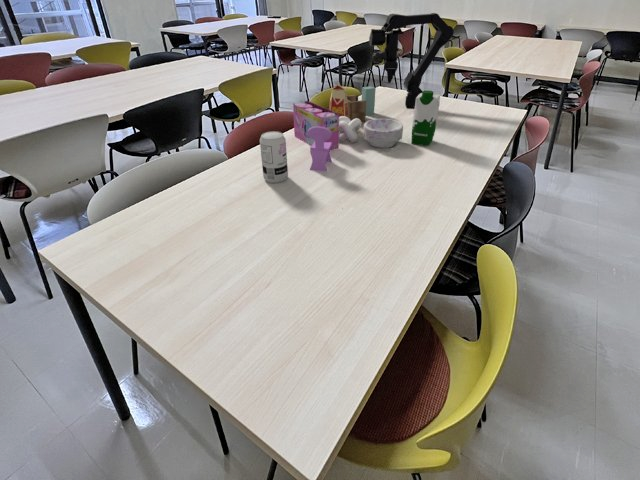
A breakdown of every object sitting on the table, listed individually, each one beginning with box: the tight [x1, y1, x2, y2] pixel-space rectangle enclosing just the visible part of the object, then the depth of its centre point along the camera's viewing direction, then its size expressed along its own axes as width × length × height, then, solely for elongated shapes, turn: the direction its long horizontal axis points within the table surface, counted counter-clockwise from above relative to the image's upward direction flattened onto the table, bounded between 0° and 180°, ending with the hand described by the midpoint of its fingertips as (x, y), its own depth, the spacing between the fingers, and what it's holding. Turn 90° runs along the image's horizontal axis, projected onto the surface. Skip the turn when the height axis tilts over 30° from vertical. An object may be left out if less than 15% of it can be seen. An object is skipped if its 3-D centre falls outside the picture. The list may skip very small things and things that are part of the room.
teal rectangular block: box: [361, 85, 377, 116], centre depth 186 cm, size 5×4×12 cm
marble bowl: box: [363, 118, 404, 149], centre depth 154 cm, size 15×15×8 cm
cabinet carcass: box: [347, 94, 367, 123], centre depth 180 cm, size 10×11×10 cm
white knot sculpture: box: [339, 116, 362, 144], centre depth 158 cm, size 11×12×9 cm
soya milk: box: [410, 90, 441, 147], centre depth 151 cm, size 9×9×20 cm
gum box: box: [292, 100, 340, 152], centre depth 156 cm, size 24×8×14 cm, turn 32°
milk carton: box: [328, 81, 349, 133], centre depth 166 cm, size 9×9×20 cm
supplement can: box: [259, 130, 289, 184], centre depth 127 cm, size 8×8×15 cm
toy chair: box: [308, 126, 333, 172], centre depth 136 cm, size 8×9×15 cm
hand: (388, 80), depth 189 cm, fingers open, 9 cm apart
